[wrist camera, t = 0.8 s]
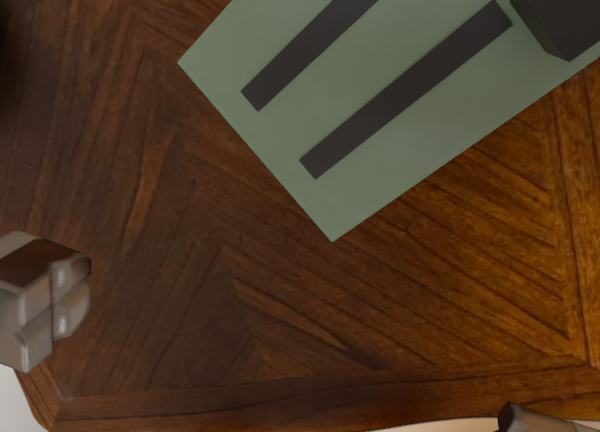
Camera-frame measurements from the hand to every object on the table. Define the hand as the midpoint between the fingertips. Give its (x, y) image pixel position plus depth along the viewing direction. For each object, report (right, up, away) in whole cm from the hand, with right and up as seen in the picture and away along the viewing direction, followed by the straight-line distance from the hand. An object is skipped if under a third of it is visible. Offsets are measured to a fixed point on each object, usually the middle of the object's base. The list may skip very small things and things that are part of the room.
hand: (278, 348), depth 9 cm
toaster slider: (+10, +10, +8) cm, 16 cm away
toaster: (+8, +15, +23) cm, 29 cm away
